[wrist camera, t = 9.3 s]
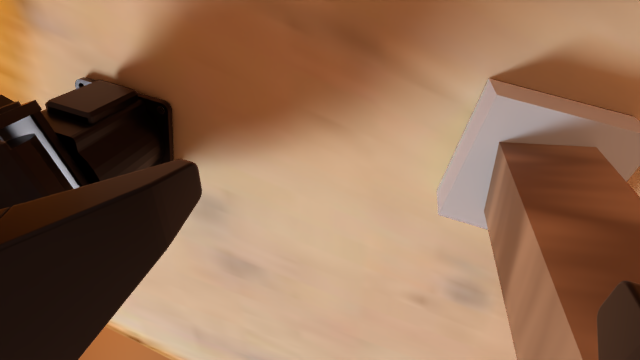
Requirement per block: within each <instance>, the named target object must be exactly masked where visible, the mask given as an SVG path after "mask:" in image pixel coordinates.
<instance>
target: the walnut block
mask: <svg viewBox="0 0 640 360" xmlns="http://www.w3.org/2000/svg"><path fill="white" fill-rule="evenodd" d="M484 214H485V218H486V223H487V227H488V232H489V236H490V240H491V245H492V249H493V254H494V258H495V263H496V267H497V272H498V276H499V281H500V285H501V289H502V294H503V298H504V303H505V307H506V312H507V316H508V321H509V325H510V330H511V334H512V338H513V343H514V347H515V352H516V356H517V360H598V340H597V313H598V310H599V308H600V306H601V305H602V304H603V302H604V301H605V300H606V299H607V297H608V296H609V295H610V293H611V292H612V291H613V290H614V288H615V287H616V286H617V285H618V284H619V283H620V282H622V281H632V282H636V283H639V284H640V197H639V196H638V195H637V194H636V193H635V191H634V190H633V189H632V188H631V187H630V186H629V184H628V183H627V182H626V181H625V180H624V179H623V177H622V176H621V175H620V174H619V173H618V172H617V170H616V169H615V168H614V167H613V166H612V165H611V163H610V162H609V161H608V160H607V159H606V158H605V157H604V155H603V154H602V153H601V152H600V151H599V150H598V148H597V147H585V146H566V145H547V144H528V143H509V142H499V145H498V150H497V154H496V159H495V163H494V168H493V172H492V177H491V181H490V186H489V190H488V195H487V199H486V204H485V208H484Z"/></svg>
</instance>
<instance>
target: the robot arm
mask: <svg viewBox="0 0 640 360" xmlns="http://www.w3.org/2000/svg"><path fill="white" fill-rule="evenodd" d="M84 85H85V86H84ZM75 86H76V89H75V90H73V91H70V92H68V93H66V94H63V95H61V96H58V97H56V98H53V99H51V100H49V101H48V102H47V103H45V105H46V110H43V111H41V110H42V109H41V107H40V106H39V105H38V103H37V102H36V100H34V101H31V102H28V103H25V104H22V105H21V104H20V103H19V101H18V102H14V101H12V100H10V99H8V98H6V97H5V96H3V95H0V360H78V359H79V358H80V356H81V355H82V354H83V353H84V352H85V350H86V349H87V348H88V346H89V345H90V344H91V343H92V342H93V340H94V339H95V338H96V337H97V335H98V334H99V333H100V332H101V330H102V329H103V328H104V327H105V326H106V324H107V323H108V322H109V321H110V319H111V318H112V317H113V316H114V314H115V313H116V312H117V311H118V309H119V308H120V307H121V306H122V304H123V303H124V302H125V301H126V299H127V298H128V297H129V296H130V295H131V293H132V292H133V291H134V290H135V288H136V287H137V286H138V285H139V283H140V282H141V281H142V280H143V278H144V277H145V276H146V275H147V273H148V272H149V271H150V270H151V268H152V267H153V266H154V265H155V263H156V262H157V261H158V260H159V259H160V257H161V256H162V255H163V253H164V252H165V251H166V250H167V248H168V247H169V245H170V244H171V242H172V241H173V240H174V238H175V237H176V235H177V233H178V232H179V230H180V229H181V227H182V226H183V224H184V223H185V221H186V220H187V218H188V217H189V215H190V213H191V212H192V210H193V209H194V207H195V206H196V204H197V203H198V201H199V199H200V197H201V194H202V188H201V182H200V176H199V170H198V167H197V165H196V164H195V163H194V162H190V161H187V160H183V159H178V160H173V132H172V109H171V106H170V104H169V103H167V102H166V101H164V100H160V99H157V98H153V97H150V96H147V95H143V94H140V93H138V92H136V91H135V90H133V89H130V88H126V87H123V86H119V85H116V84H113V83H109V82H106V81H102V80H98V81H95V80H92V79H88V78H84V77H83V78H80V79H78V80H76V82H75ZM161 107H163V109H164V111H165V112H164V111H163V110H162V109H161ZM597 340H598V360H640V284H639V283H636V282H632V281H622V282H620V283H619V284H618V285H617V286H616V287H615V288H614V290H613V291H612V292H611V293H610V295H609V296H608V297H607V299H606V300H605V301H604V302H603V304H602V305H601V306H600V308H599V310H598V313H597Z"/></svg>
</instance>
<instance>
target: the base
mask: <svg viewBox="0 0 640 360" xmlns="http://www.w3.org/2000/svg"><path fill="white" fill-rule="evenodd" d="M499 142H509V143H528V144H547V145H566V146H585V147H597V148H598V150H599V151H600V152H601V153H602V154H603V155H604V157H605V158H606V159H607V160H608V161H609V162H610V163H611V165H612V166H613V167H614V168H615V169H616V170H617V172H618V173H619V174H620V175H621V176H622V177H623V179H624V180H625V181H626V182H627V181H628V180H629V178H630V177H631V176H632V175H633V174H634V172H635V171H636V170H637V169H638V167H639V166H640V121H639V120H638V119H636V118H635V117H633V116H629V115H626V114H622V113H618V112H614V111H611V110H607V109H603V108H599V107H595V106H592V105H588V104H584V103H580V102H576V101H573V100H569V99H565V98H561V97H557V96H554V95H550V94H546V93H542V92H539V91H535V90H531V89H527V88H523V87H520V86H516V85H512V84H508V83H504V82H501V81H497V80H493V79H488V81H487V83H486V85H485V87H484V90H483V92H482V94H481V96H480V98H479V100H478V103H477V105H476V107H475V109H474V111H473V113H472V116H471V118H470V120H469V122H468V124H467V126H466V129H465V131H464V133H463V135H462V137H461V139H460V141H459V144H458V146H457V148H456V150H455V152H454V154H453V157H452V159H451V161H450V163H449V165H448V167H447V170H446V172H445V174H444V176H443V178H442V180H441V183H440V185H439V187H438V189H437V201H438V215H440V216H444V217H447V218H450V219H454V220H457V221H460V222H464V223H467V224H470V225H474V226H477V227H480V228H484V229H487V230H488V227H487V223H486V218H485V214H484V208H485V204H486V199H487V195H488V190H489V186H490V181H491V177H492V172H493V168H494V163H495V159H496V154H497V150H498V145H499Z"/></svg>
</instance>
